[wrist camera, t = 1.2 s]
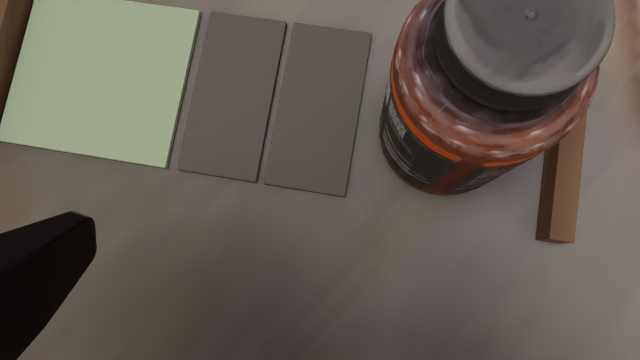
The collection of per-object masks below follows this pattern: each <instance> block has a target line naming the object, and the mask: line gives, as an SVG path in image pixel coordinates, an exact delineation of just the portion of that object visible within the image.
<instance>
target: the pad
mask: <svg viewBox="0 0 640 360" xmlns="http://www.w3.org/2000/svg"><path fill="white" fill-rule="evenodd" d="M200 18H201V12H200V11H199V10H191V9H184V8H176V7H169V6H161V5H154V4H146V3H139V2H131V1H124V0H34V3H33V7H32V10H31V14H30V18H29V22H28V25H27V29H26V33H25V36H24V40H23V44H22V47H21V51H20V55H19V58H18V62H17V66H16V69H15V73H14V77H13V80H12V84H11V88H10V91H9V95H8V99H7V103H6V106H5V110H4V114H3V117H2V121H1V125H0V142H6V143H12V144H19V145H25V146H31V147H37V148H43V149H49V150H55V151H61V152H67V153H74V154H80V155H86V156H92V157H98V158H104V159H110V160H116V161H123V162H129V163H135V164H141V165H147V166H153V167H159V168H165V169H168V164H169V159H170V155H171V150H172V146H173V141H174V137H175V132H176V127H177V123H178V118H179V114H180V109H181V104H182V100H183V95H184V91H185V86H186V82H187V77H188V72H189V68H190V63H191V59H192V54H193V50H194V45H195V40H196V36H197V31H198V27H199V22H200Z"/></svg>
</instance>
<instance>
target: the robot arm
mask: <svg viewBox="0 0 640 360" xmlns="http://www.w3.org/2000/svg"><path fill="white" fill-rule="evenodd" d="M96 249H97V246H96V231H95V222H94V220H93V218H91V217H89V216H87V215H84V214H81V213H79V212H76V211H70V212H66V213H63V214H60V215H57V216H54V217H51V218H47V219H44V220H41V221H38V222H35V223H32V224H29V225H26V226H23V227H20V228H17V229H13V230H10V231H7V232H4V233H1V234H0V360H17V358H18V357H19V356H20V355H21V354H22V353H23V352H24V351H25V349H26V348H27V347H28V346H29V345H30V344H31V343H32V341H33V340H34V339H35V338H36V337H37V336H38V334H39V333H40V332H41V331H42V330H43V328H44V327H45V326H46V325H47V323H48V322H49V321H50V319H51V318H52V317H53V315H54V314H55V313H56V311H57V310H58V308H59V307H60V306H61V304H62V303H63V301H64V300H65V299H66V297H67V296H68V294H69V293H70V292H71V290H72V289H73V287H74V286H75V285H76V283H77V282H78V280H79V279H80V278H81V276H82V275H83V273H84V272H85V271H86V269H87V268H88V266H89V265H90V264H91V262H92V261H93V259H94V257H95V254H96Z"/></svg>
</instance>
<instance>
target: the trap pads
mask: <svg viewBox="0 0 640 360" xmlns="http://www.w3.org/2000/svg"><path fill="white" fill-rule="evenodd" d="M286 27H287V23H286V22H285V21H278V20H270V19H263V18H255V17H248V16H240V15H233V14H225V13H218V12H211V14H210V18H209V23H208V28H207V32H206V37H205V41H204V46H203V51H202V55H201V60H200V65H199V69H198V74H197V79H196V83H195V88H194V92H193V97H192V102H191V106H190V111H189V116H188V120H187V125H186V130H185V134H184V139H183V143H182V148H181V153H180V157H179V162H178V167H177V169H178V170H181V171H187V172H193V173H199V174H206V175H212V176H218V177H224V178H230V179H236V180H242V181H248V182H255V183H257V178H258V173H259V168H260V163H261V157H262V152H263V147H264V142H265V136H266V131H267V126H268V121H269V116H270V110H271V105H272V100H273V95H274V89H275V84H276V79H277V74H278V69H279V63H280V58H281V53H282V48H283V42H284V37H285V32H286ZM371 35H372V33H368V32H360V31H353V30H345V29H338V28H330V27H323V26H315V25H308V24H300V23H294V26H293V32H292V37H291V42H290V47H289V53H288V58H287V63H286V69H285V74H284V79H283V84H282V90H281V95H280V100H279V105H278V111H277V116H276V121H275V127H274V132H273V137H272V142H271V148H270V153H269V158H268V164H267V169H266V174H265V179H264V184H267V185H273V186H279V187H285V188H291V189H297V190H304V191H310V192H316V193H322V194H328V195H334V196H340V197H345V193H346V187H347V181H348V175H349V169H350V163H351V157H352V151H353V144H354V138H355V132H356V126H357V120H358V114H359V108H360V102H361V96H362V90H363V84H364V78H365V72H366V66H367V60H368V54H369V47H370V41H371Z"/></svg>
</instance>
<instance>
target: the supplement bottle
mask: <svg viewBox="0 0 640 360" xmlns="http://www.w3.org/2000/svg"><path fill="white" fill-rule="evenodd" d="M614 29H615V7H614V3H613V0H421V1H420V2H419V3H418V4H417V5H416V6H415V7H414V9H413V10H412V12H411V13H410V14H409V16H408V17H407V19H406V21H405V23H404V25H403V27H402V30H401V32H400V35H399V37H398V40H397V42H396V46H395V50H394V54H393V58H392V62H391V68H390V74H389V78H388V83H387V87H386V93H385V98H384V103H383V108H382V113H381V117H380V132H379V134H380V140H381V146H382V149H383V153H384V154H385V157H386V159H387V161H388V163H389V164H390V166H391V167H392V168H393V170H394V171H395V172H396V173H397V174H398V175H399V176H400V177H401V178H402V179H403V180H404V181H405V182H407V183H408V184H410V185H412V186H413V187H416V188H418V189H420V190H423V191H425V192H429V193H433V194H440V195H454V194H459V193H464V192H467V191H470V190H473V189H476V188H478V187H480V186H482V185H484V184H486V183H488V182H490V181H492V180H493V179H495V178H497V177H499V176H500V175H502V174H504V173H506V172H508V171H510V170H512V169H513V168H515V167H517V166H519V165H521V164H522V163H524V162H526V161H528V160H530V159H532V158H534V157H535V156H537V155H539V154H541V153H542V152H544V151H545V150H547V149H549V148H550V147H552V146H553V145H555V144H556V143H558V142H559V141H560V140H562V139H563V138H564V137H565V136H567V135H568V134H569V133H570V131H571V130H572V129H573V128H574V127H575V126H576V125H577V124H578V123H579V121H580V120H581V118H582V117H583V116H584V114H585V112H586V110H587V109H588V107H589V105H590V103H591V100H592V98H593V95H594V93H595V90H596V87H597V82H598V76H599V69H600V67H599V64H600V63H601V62H602V60H603V59H604V57H605V55H606V54H607V52H608V49H609V47H610V45H611V42H612V38H613V35H614Z"/></svg>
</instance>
